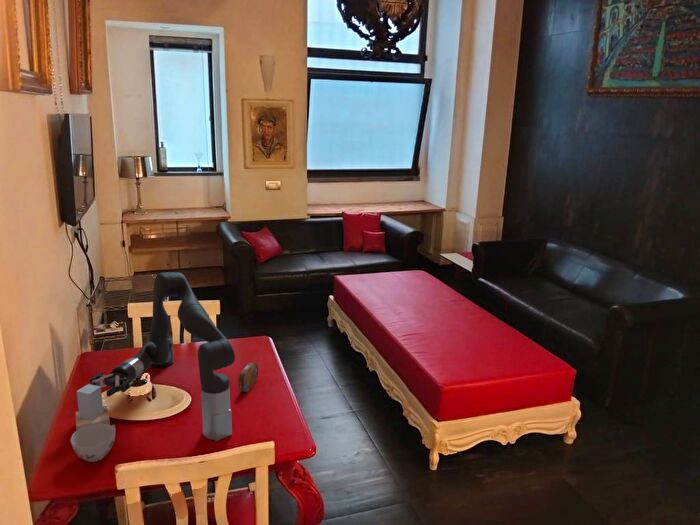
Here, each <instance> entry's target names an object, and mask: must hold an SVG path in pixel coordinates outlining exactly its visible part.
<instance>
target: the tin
mask: <svg viewBox="0 0 700 525" xmlns="http://www.w3.org/2000/svg"><path fill="white" fill-rule="evenodd" d="M258 375H259V365H258V364H257V362H248V363H247V364H246V365H245V366H244V368H243V369H242V370H241V371H240V373H239V375H238V380H237V381H238V382H237V383H238V390H239V391H240V392H244V393H248V392H249V391H250V390H251V389H252V387H254V385H255V383H257V379H258Z"/></svg>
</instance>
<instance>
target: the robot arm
mask: <svg viewBox="0 0 700 525" xmlns="http://www.w3.org/2000/svg"><path fill="white" fill-rule="evenodd" d="M172 297H173V298H174V297H178V298H179V299H180V300H181V301H180V304H179V306H178V309H177V317H178V320H179V322H180V324H181V325H182V327H183V328H184V330H185V331H186V332H188V334H191V335H192V336H195V337H197V338H199V339H201V340H203V341H206V342H204V343H201V344H200V345H199V346H198V349H197V361H198V370H199V371H198V373H199V380H200V388H201V390H200V391H201V394H200V395H201V414H202V417H201V418H202V433H203V434H202V435H203V437H204V438H206V439H208V440H213V441H215V442H219V441H220V440H223V439H225V438H227V437H230V436H231V435H233V425H232V424H233V421H232V409H231V393H230V392H231V388H230V384H231V383H230V378H229V377H228V376H227V375H226V374H223V373H219V372H214V371H217V370H221V369H224V368H228V367H229V366H232V365H233V364H234V363H235V360H236V354H235V351H234V350H235V349H234V347H233V346H232V344H231V342H230V341H229V339H228V338H227V337H226V336H225V335H224V334H223V333H222V331H220V329H219V328H218V327H217V326H216V324H215V323H214V322H213V320H212V319H211V317H210V316H209V314H208V312H207V311H206V309H205V307H203V305H202V304H201V303H200V301H199V300H198V297H197V296H196V295H195V293H194V291H193V289H192V287H191V285H190V283H189V281H188V280H187V278H186V276H185V275H184V274H183V273H181V272H177V271H176V272H173V271H172V272H159V273H157V274H156V276H155V278H154V280H153V293H152V319H151V326H150V330H149V335H148V337H149V339H150V340H151V341H152V342H148V341H147V342H145V343H144V345H143V346H142V347H141V348H140V350H139V351H138V352H137V354H135V355H134V356H132V357H131V358H128V359H126V360H124V361H123V362H121V363H120V364H118V365H116V366H115V367H114V368H112V370H111V372H110V373H108V374H106V375H105V374H104V372H99V373H98V374H96V375H94V376H92V377H91V378H89V384H91V385H95V386H100V387H101V388H105V387H110V388H109V389H106V397H108V398H110V397H111V396H114V394H116V393H120V392H121V393H125V392H127V391H128V390H129V389H130V388H131V387H133V386H134V380H136V379H137V378H138V377H139V376H141V375H142V374H143V373H144V372H146V371H147V370H149V369H150V368H151V367H152V366H151V364H152V362H153V363H155V364H158V365H161V364H163V363H165V362H166V361H167V359H168V357H169V344H168V335H170V334H169V333H170V329H171V319H170V316H169V314H168V313H167V310H166V308H165V306H164V299H165V298H172ZM103 380H104V383H103Z"/></svg>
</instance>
